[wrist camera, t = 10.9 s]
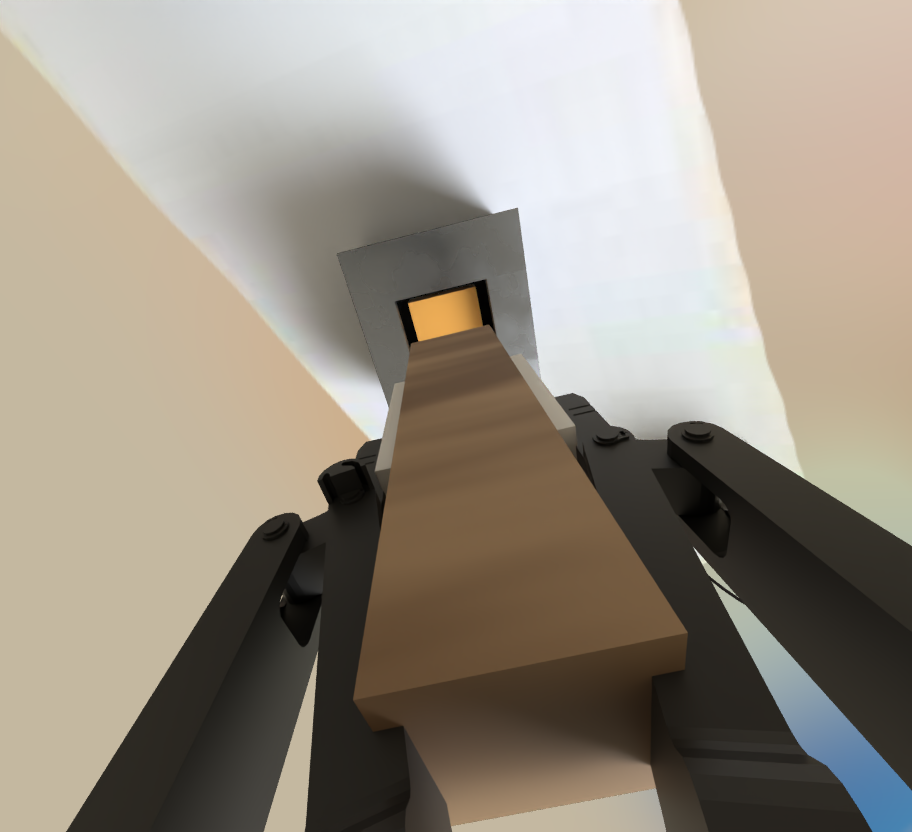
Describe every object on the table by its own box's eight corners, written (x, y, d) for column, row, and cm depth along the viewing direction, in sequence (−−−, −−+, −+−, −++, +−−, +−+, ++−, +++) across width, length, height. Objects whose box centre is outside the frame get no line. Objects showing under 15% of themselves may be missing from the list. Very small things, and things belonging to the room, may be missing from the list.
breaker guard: (361, 248, 33) (336, 253, 24) (493, 215, 33) (517, 207, 24) (405, 390, 40) (398, 436, 31) (517, 364, 39) (543, 403, 30)
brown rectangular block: (411, 343, 19) (352, 699, 4) (489, 324, 19) (687, 632, 4) (431, 413, 21) (434, 829, 6) (502, 396, 20) (675, 784, 6)
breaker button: (411, 291, 34) (407, 303, 28) (467, 277, 34) (475, 286, 28) (426, 346, 36) (425, 367, 31) (478, 333, 36) (488, 352, 30)
